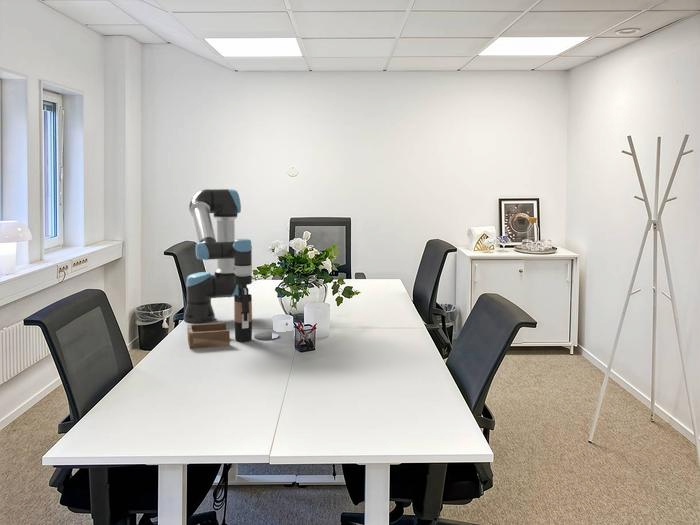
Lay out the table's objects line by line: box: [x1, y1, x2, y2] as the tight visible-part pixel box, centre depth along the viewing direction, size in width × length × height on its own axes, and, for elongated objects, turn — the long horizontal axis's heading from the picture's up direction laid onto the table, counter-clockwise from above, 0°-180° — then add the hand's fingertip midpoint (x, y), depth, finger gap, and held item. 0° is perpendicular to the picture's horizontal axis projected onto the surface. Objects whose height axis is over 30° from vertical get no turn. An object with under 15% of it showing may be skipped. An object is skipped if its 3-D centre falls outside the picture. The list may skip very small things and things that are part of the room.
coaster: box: [253, 331, 273, 341], centre depth 265 cm, size 11×11×1 cm
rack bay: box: [186, 322, 231, 349], centre depth 254 cm, size 15×16×6 cm
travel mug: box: [233, 293, 253, 343], centre depth 258 cm, size 8×8×20 cm
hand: (243, 325), depth 259 cm, fingers open, 9 cm apart
